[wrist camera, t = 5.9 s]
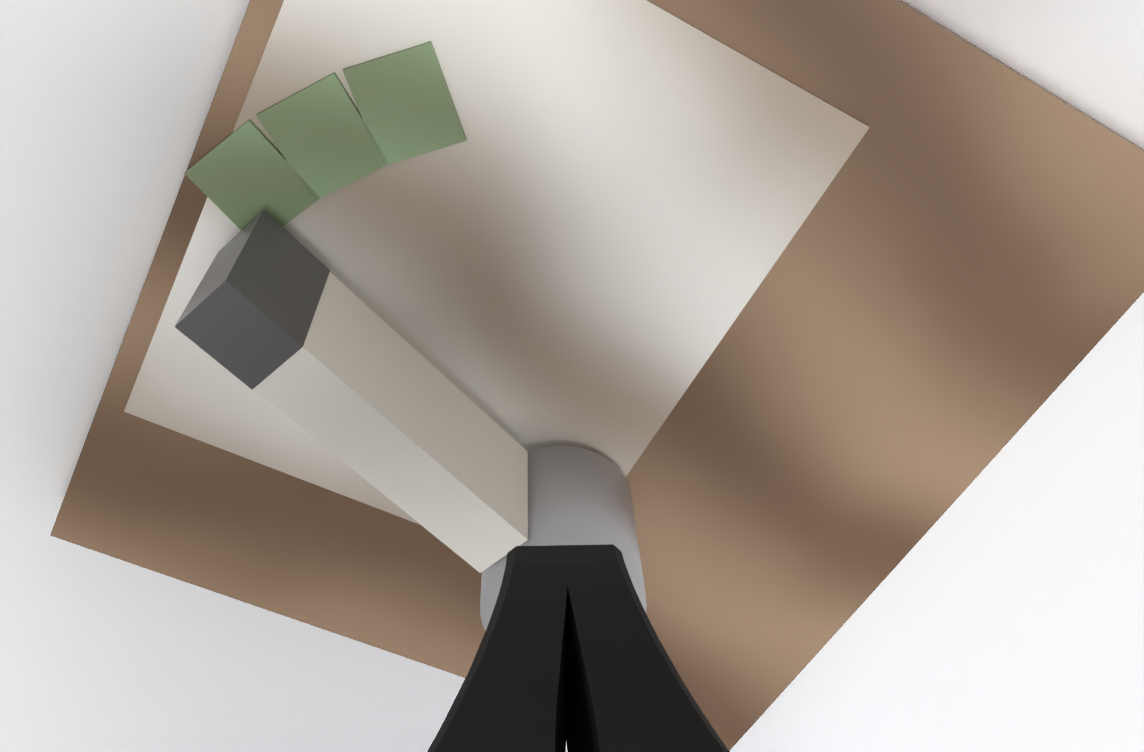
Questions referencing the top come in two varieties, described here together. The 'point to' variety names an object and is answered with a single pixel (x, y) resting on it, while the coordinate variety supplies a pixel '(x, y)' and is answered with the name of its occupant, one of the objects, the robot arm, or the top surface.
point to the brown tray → (626, 302)
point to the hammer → (398, 412)
